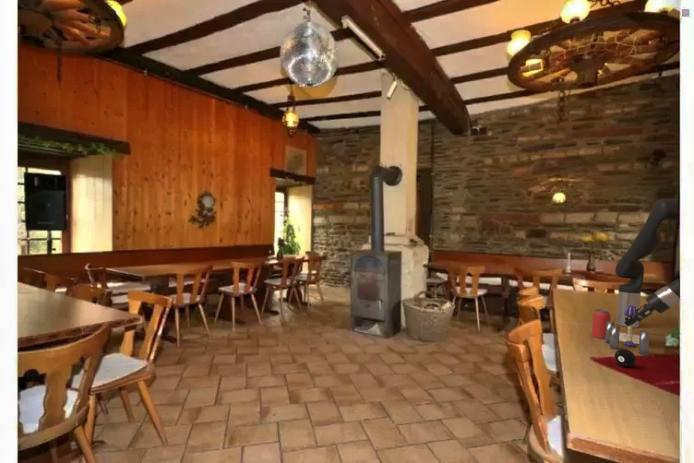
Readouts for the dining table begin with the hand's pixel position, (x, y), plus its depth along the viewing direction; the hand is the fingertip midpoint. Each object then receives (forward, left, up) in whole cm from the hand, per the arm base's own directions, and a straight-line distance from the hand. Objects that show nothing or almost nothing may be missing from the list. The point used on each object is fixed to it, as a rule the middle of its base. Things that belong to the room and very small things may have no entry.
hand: (626, 322), depth 164 cm
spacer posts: (+6, +2, -9) cm, 11 cm away
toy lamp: (0, +1, -10) cm, 10 cm away
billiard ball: (+31, +8, -10) cm, 33 cm away
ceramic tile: (-12, -2, -9) cm, 15 cm away
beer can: (-4, -10, -10) cm, 15 cm away
